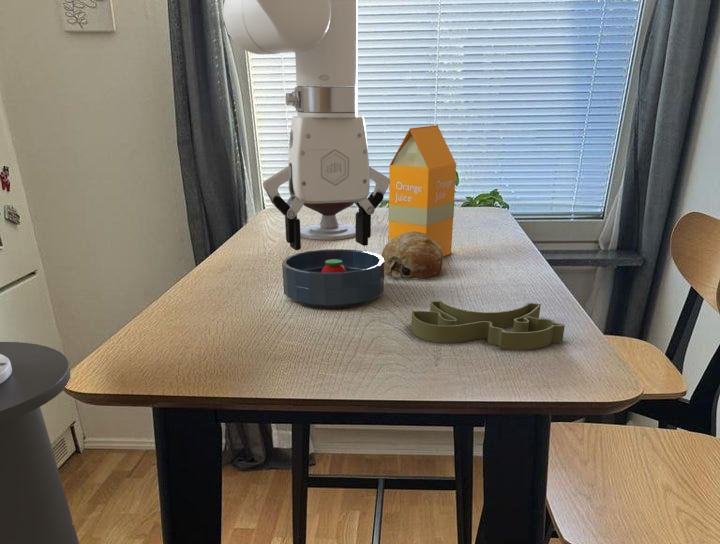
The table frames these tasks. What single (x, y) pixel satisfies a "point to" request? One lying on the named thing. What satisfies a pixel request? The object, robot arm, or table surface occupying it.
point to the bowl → (333, 278)
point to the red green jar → (333, 266)
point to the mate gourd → (328, 222)
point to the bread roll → (412, 256)
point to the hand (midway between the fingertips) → (328, 246)
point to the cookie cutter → (487, 326)
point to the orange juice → (423, 187)
